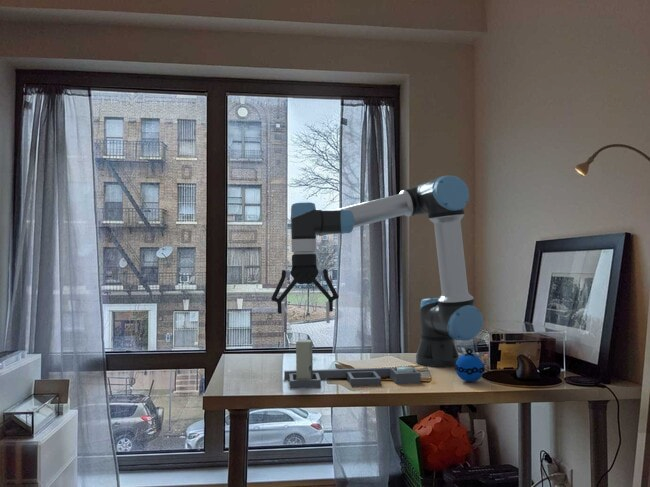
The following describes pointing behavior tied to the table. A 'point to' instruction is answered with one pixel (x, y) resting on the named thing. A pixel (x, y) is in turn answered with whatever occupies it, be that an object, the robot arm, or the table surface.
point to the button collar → (405, 376)
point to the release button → (404, 369)
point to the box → (304, 360)
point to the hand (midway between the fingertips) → (305, 323)
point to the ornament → (469, 367)
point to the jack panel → (340, 376)
